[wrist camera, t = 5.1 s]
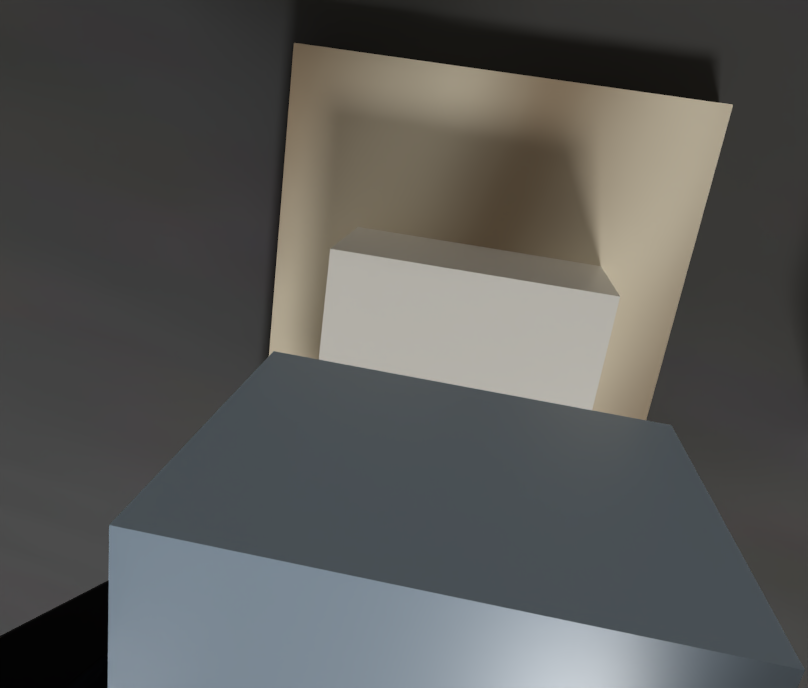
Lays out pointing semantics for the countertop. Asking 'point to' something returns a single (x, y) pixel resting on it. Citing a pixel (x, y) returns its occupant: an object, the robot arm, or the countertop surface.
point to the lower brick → (468, 316)
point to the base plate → (496, 186)
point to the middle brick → (430, 548)
